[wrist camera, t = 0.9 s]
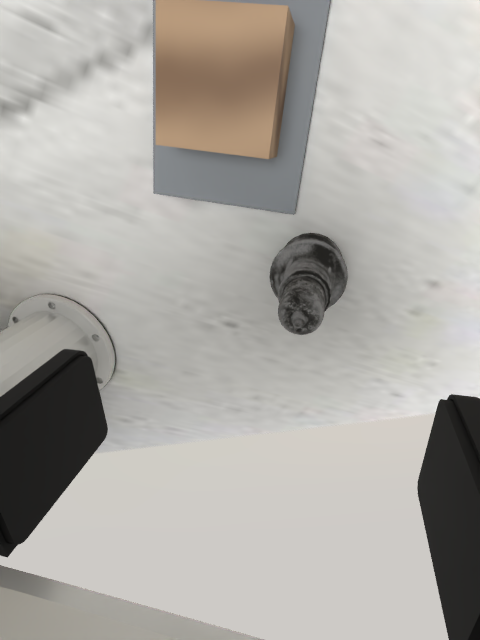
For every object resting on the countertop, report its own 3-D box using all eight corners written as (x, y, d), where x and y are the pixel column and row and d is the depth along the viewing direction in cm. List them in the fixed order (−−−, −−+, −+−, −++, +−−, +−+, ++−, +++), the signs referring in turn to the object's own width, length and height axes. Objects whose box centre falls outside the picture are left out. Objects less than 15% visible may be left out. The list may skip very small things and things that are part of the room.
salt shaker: (277, 295, 34) (250, 367, 23) (274, 230, 31) (243, 276, 21) (344, 297, 32) (349, 373, 22) (348, 228, 30) (355, 276, 19)
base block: (276, 156, 28) (268, 159, 25) (177, 144, 29) (155, 144, 26) (294, 24, 24) (288, 5, 21) (180, 16, 26) (155, -3, 22)
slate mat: (294, 213, 30) (294, 214, 30) (156, 192, 32) (153, 193, 31) (339, -52, 23) (339, -56, 22) (156, -58, 25) (152, -63, 24)
